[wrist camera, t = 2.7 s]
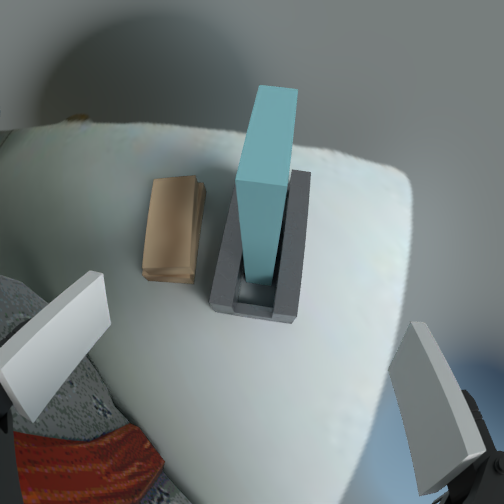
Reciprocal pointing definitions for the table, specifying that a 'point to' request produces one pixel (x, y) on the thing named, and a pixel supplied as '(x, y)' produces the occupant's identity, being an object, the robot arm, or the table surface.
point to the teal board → (265, 179)
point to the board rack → (289, 264)
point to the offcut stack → (173, 229)
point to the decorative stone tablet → (80, 435)
